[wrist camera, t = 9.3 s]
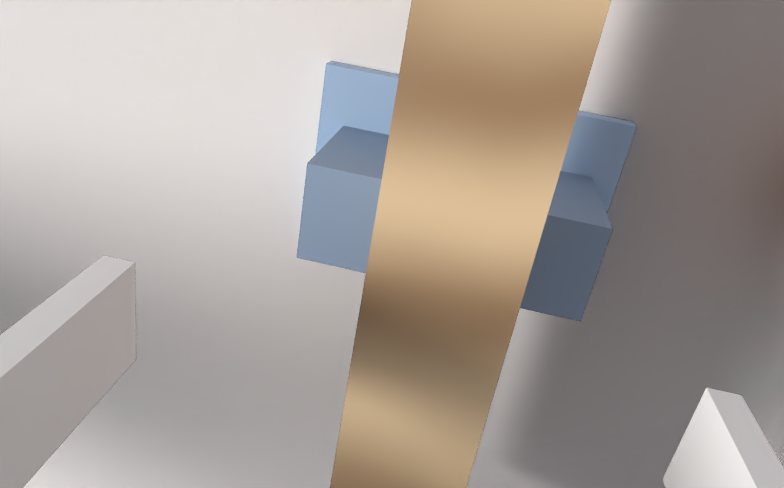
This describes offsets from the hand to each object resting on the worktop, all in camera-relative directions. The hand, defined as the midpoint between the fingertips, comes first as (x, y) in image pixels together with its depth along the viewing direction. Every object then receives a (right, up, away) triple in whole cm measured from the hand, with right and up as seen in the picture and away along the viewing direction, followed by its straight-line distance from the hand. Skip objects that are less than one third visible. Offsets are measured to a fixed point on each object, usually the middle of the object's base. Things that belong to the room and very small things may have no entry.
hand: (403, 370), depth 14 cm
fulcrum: (+3, +5, +12) cm, 13 cm away
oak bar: (+2, +3, +6) cm, 7 cm away
